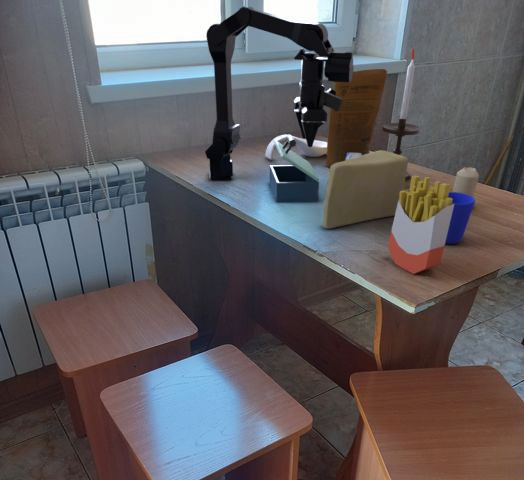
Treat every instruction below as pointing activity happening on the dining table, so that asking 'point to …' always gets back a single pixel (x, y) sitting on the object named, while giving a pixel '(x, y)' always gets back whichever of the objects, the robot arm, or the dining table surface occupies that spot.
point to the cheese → (364, 188)
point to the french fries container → (421, 225)
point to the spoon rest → (314, 151)
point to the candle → (466, 181)
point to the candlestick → (404, 114)
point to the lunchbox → (292, 184)
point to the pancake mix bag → (354, 114)
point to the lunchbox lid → (295, 157)
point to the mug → (459, 216)
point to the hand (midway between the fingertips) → (307, 142)
